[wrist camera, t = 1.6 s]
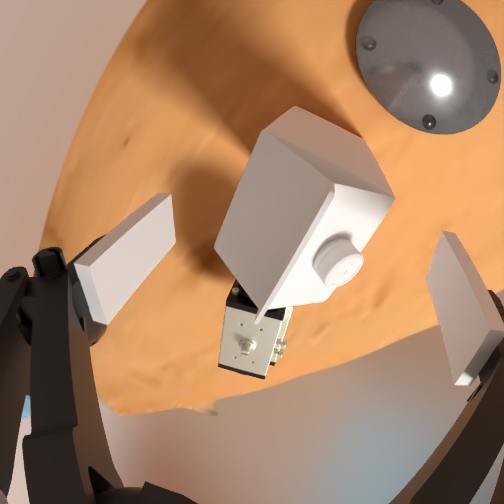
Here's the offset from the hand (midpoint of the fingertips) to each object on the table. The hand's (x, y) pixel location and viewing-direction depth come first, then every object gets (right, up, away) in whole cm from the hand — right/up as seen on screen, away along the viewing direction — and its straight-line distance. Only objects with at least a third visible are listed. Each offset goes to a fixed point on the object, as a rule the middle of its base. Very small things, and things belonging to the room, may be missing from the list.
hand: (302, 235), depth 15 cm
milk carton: (+3, +8, +14) cm, 17 cm away
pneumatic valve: (0, -3, +22) cm, 22 cm away
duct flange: (+13, +16, +6) cm, 22 cm away
